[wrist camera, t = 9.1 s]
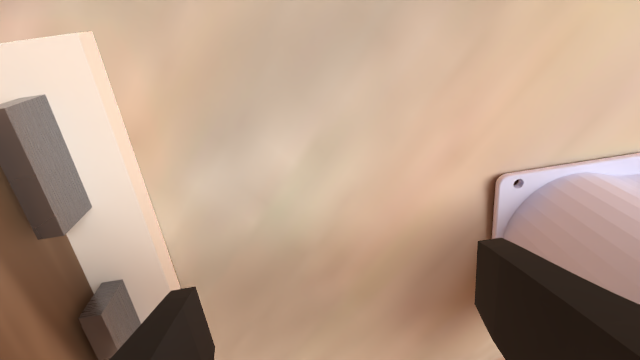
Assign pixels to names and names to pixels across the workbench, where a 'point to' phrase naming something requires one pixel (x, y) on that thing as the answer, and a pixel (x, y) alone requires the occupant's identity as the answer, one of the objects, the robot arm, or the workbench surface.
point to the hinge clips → (59, 207)
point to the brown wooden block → (39, 290)
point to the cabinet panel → (95, 164)
